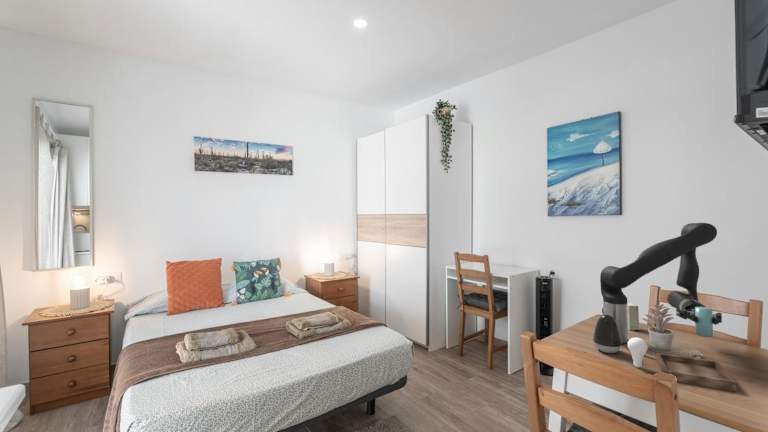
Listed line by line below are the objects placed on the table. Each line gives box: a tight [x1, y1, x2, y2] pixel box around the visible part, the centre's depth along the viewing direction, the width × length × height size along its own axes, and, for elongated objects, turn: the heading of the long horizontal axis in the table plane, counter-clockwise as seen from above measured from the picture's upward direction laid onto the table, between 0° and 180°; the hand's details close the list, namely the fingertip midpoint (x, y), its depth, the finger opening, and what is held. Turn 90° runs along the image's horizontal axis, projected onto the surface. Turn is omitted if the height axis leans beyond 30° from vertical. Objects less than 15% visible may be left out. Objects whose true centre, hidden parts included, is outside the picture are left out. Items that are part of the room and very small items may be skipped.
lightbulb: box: [627, 337, 649, 369], centre depth 130 cm, size 6×6×11 cm
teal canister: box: [694, 306, 714, 338], centre depth 130 cm, size 5×5×10 cm
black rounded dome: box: [592, 314, 623, 354], centre depth 146 cm, size 10×10×15 cm
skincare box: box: [627, 302, 640, 331], centre depth 174 cm, size 6×4×12 cm
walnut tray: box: [655, 352, 737, 393], centre depth 124 cm, size 18×18×3 cm
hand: (706, 320), depth 127 cm, fingers closed on teal canister, 4 cm apart
